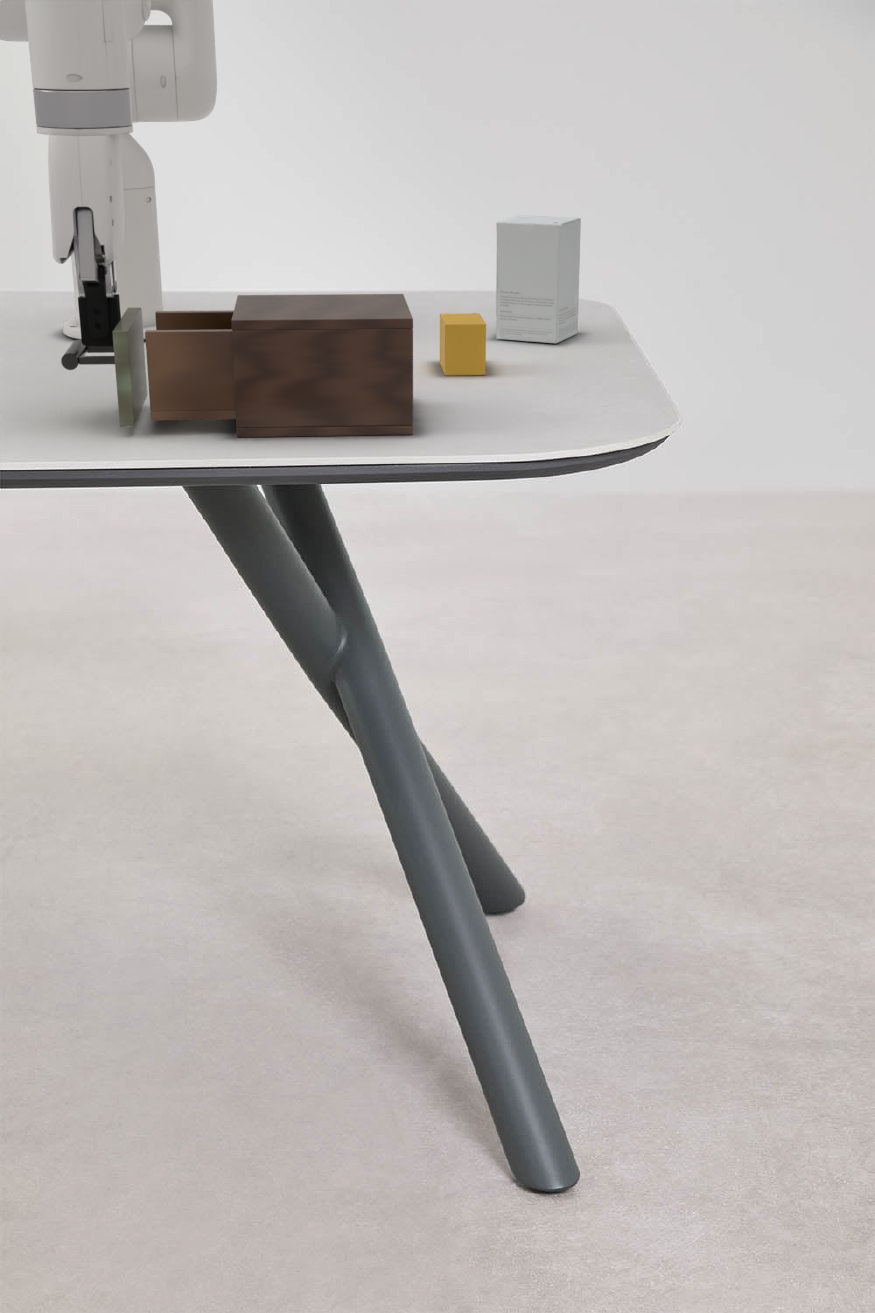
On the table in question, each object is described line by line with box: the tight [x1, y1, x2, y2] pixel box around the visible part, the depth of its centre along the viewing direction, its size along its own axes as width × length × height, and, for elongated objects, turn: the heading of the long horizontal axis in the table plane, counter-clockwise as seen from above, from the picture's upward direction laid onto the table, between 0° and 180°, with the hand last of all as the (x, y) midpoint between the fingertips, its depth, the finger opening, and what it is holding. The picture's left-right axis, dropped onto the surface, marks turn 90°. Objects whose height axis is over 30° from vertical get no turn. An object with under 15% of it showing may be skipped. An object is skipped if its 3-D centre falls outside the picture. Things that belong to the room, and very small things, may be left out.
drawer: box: [60, 308, 236, 428], centre depth 127 cm, size 18×11×8 cm, turn 95°
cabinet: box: [231, 293, 414, 438], centre depth 128 cm, size 15×13×10 cm
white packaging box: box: [495, 214, 582, 344], centre depth 164 cm, size 7×7×13 cm
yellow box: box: [439, 312, 487, 377], centre depth 149 cm, size 6×4×5 cm, turn 5°
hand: (102, 343), depth 126 cm, fingers closed
